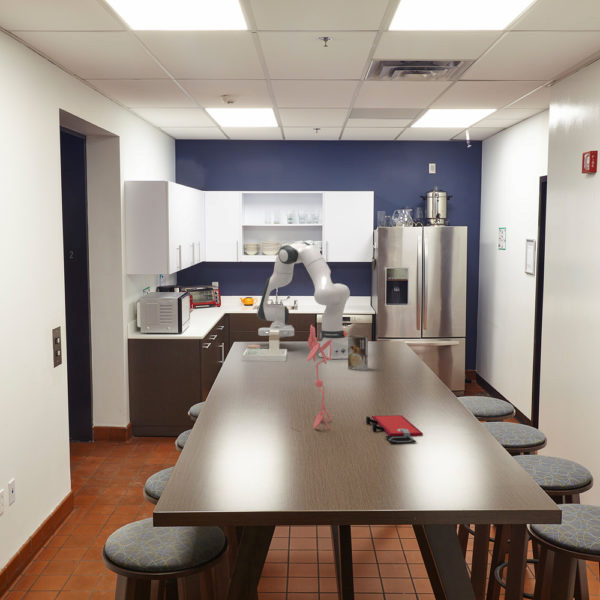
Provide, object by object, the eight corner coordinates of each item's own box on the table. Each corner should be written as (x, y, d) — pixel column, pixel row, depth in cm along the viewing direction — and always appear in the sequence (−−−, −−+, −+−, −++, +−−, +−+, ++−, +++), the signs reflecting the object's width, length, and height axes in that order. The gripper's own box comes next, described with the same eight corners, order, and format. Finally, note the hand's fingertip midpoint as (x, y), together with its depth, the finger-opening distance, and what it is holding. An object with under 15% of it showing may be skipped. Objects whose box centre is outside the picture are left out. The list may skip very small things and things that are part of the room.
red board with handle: (385, 445, 208) (430, 444, 210) (385, 436, 208) (430, 435, 210) (361, 419, 237) (401, 419, 240) (362, 412, 237) (402, 411, 239)
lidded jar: (260, 357, 345) (260, 344, 345) (259, 359, 339) (259, 346, 338) (248, 357, 345) (248, 344, 345) (246, 359, 339) (246, 346, 338)
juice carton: (279, 356, 348) (279, 330, 346) (278, 358, 342) (279, 331, 341) (269, 356, 348) (269, 330, 346) (269, 358, 343) (269, 331, 341)
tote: (287, 356, 353) (287, 349, 353) (285, 363, 335) (285, 355, 335) (246, 356, 353) (246, 348, 353) (242, 362, 335) (242, 355, 335)
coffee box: (368, 367, 325) (368, 335, 324) (365, 370, 319) (366, 337, 317) (350, 366, 328) (350, 334, 326) (347, 369, 322) (347, 336, 320)
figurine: (335, 414, 241) (334, 320, 238) (329, 436, 216) (328, 331, 212) (294, 413, 243) (292, 320, 240) (283, 435, 218) (281, 330, 214)
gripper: (258, 324, 375) (256, 328, 362) (294, 325, 375) (294, 328, 361) (258, 335, 376) (256, 339, 362) (294, 336, 376) (293, 340, 362)
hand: (275, 334), depth 362 cm, fingers open, 8 cm apart
